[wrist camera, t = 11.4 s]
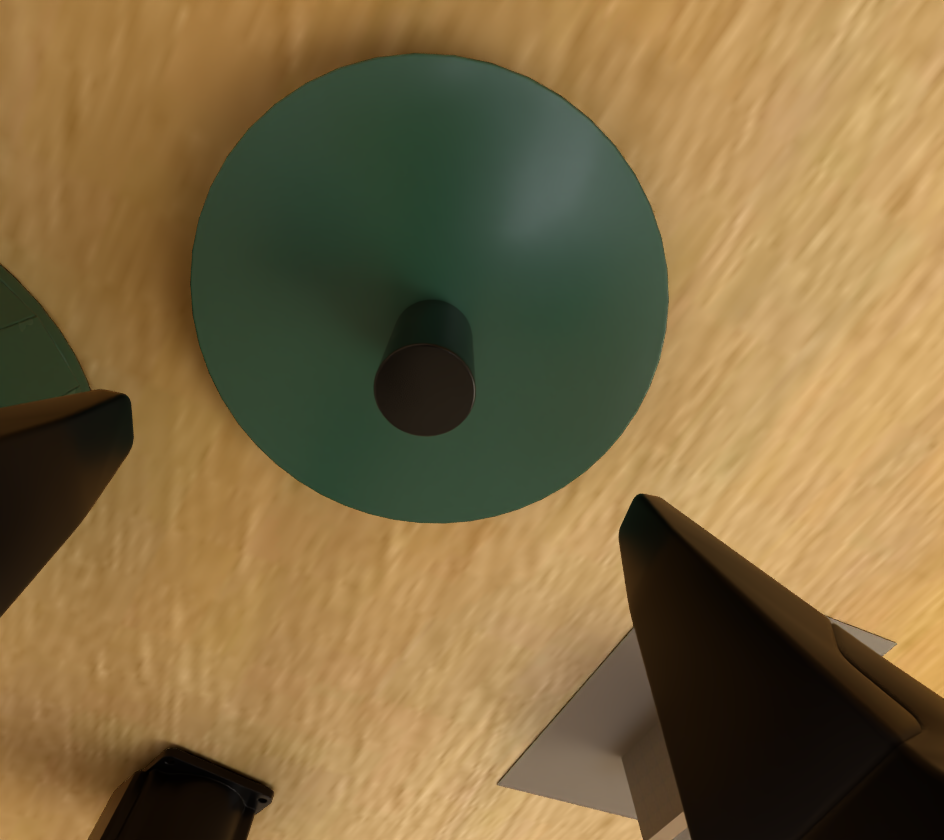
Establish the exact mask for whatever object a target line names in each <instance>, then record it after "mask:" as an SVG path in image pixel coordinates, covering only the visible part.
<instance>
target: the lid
mask: <svg viewBox="0 0 944 840" xmlns="http://www.w3.org/2000/svg"><path fill="white" fill-rule="evenodd" d="M190 286H191V298H192V311H193V318H194V323H195V328H196V332H197V337H198V341H199V346H200V349H201V351H202V354H203V357H204V360H205V363H206V365H207V368H208V371H209V374H210V376H211V378H212V380H213V382H214V384H215V386H216V388H217V390H218V392H219V394H220V396H221V398H222V400H223V401H224V403H225V404H226V406H227V407H228V409H229V410H230V412H231V413H232V415H233V416H234V418H235V419H236V421H237V422H238V424H239V425H240V426H241V427H242V429H243V430H244V431H245V432H246V433H247V435H248V436H249V437H250V438H251V439H252V441H253V442H254V443H255V444H256V445H257V446H258V447H259V448H260V449H261V450H262V451H263V452H264V453H265V454H266V455H267V456H268V457H269V458H270V459H271V460H273V461H274V462H275V463H276V464H277V465H278V466H279V467H281V468H282V469H283V470H285V471H286V472H287V473H289V474H290V475H291V476H293V477H294V478H295V479H297V480H298V481H299V482H301V483H303V484H304V485H306V486H308V487H309V488H311V489H313V490H314V491H316V492H318V493H319V494H321V495H323V496H325V497H328V498H330V499H332V500H334V501H336V502H338V503H340V504H343V505H345V506H348V507H351V508H354V509H356V510H359V511H362V512H365V513H368V514H372V515H376V516H380V517H385V518H389V519H393V520H401V521H409V522H417V523H455V522H467V521H474V520H479V519H484V518H489V517H495V516H498V515H501V514H505V513H508V512H511V511H514V510H518V509H520V508H523V507H525V506H527V505H530V504H532V503H534V502H537V501H539V500H541V499H543V498H545V497H547V496H549V495H550V494H552V493H554V492H556V491H558V490H559V489H561V488H563V487H565V486H566V485H567V484H569V483H570V482H572V481H573V480H574V479H576V478H577V477H578V476H580V475H581V474H583V473H584V472H585V471H586V470H588V469H589V468H590V467H591V466H592V465H593V464H594V463H595V462H596V461H597V460H599V459H600V458H601V457H602V456H603V455H604V454H605V453H606V452H607V451H608V449H609V448H610V447H611V446H612V445H613V444H614V443H615V441H616V440H617V439H618V438H619V437H620V436H621V434H622V433H623V432H624V430H625V429H626V427H627V426H628V424H629V423H630V421H631V420H632V418H633V417H634V415H635V414H636V413H637V411H638V409H639V407H640V405H641V403H642V401H643V399H644V397H645V395H646V393H647V391H648V389H649V387H650V385H651V382H652V379H653V377H654V374H655V371H656V368H657V366H658V363H659V360H660V356H661V351H662V347H663V342H664V338H665V333H666V326H667V315H668V303H669V295H668V273H667V265H666V259H665V254H664V248H663V243H662V238H661V234H660V231H659V228H658V225H657V222H656V219H655V216H654V213H653V210H652V207H651V205H650V203H649V201H648V199H647V197H646V195H645V193H644V191H643V189H642V187H641V185H640V183H639V181H638V179H637V177H636V175H635V173H634V172H633V170H632V169H631V168H630V166H629V165H628V163H627V162H626V160H625V159H624V157H623V156H622V155H621V153H620V152H619V150H618V149H617V147H616V146H615V145H614V144H613V143H612V142H611V140H610V139H609V138H608V137H607V136H606V135H605V134H604V133H603V132H602V131H601V130H600V129H599V128H598V127H597V126H596V124H595V123H594V122H593V121H592V120H591V119H590V118H589V117H587V116H586V115H585V114H583V113H582V112H581V111H580V110H578V109H577V108H576V107H575V106H573V105H572V104H571V103H570V102H568V101H567V100H566V99H565V98H563V97H562V96H561V95H559V94H557V93H555V92H554V91H552V90H550V89H548V88H547V87H545V86H543V85H541V84H540V83H538V82H536V81H534V80H533V79H531V78H529V77H527V76H524V75H522V74H519V73H517V72H514V71H511V70H509V69H506V68H504V67H501V66H498V65H496V64H493V63H489V62H485V61H480V60H475V59H471V58H466V57H461V56H456V55H444V54H425V53H411V54H401V55H392V56H383V57H376V58H372V59H368V60H365V61H361V62H357V63H354V64H350V65H347V66H343V67H340V68H337V69H335V70H333V71H331V72H329V73H327V74H324V75H322V76H320V77H318V78H316V79H314V80H311V81H309V82H307V83H305V84H304V85H302V86H301V87H299V88H298V89H296V90H295V91H293V92H292V93H290V94H289V95H287V96H286V97H284V98H283V99H281V100H280V101H278V102H277V103H276V104H274V105H273V106H272V107H271V108H270V109H269V110H268V111H267V112H266V113H265V114H264V115H263V116H262V117H261V118H259V119H258V120H257V121H256V122H255V123H254V124H253V125H252V126H251V127H250V128H249V129H248V130H247V131H246V133H245V134H244V135H243V137H242V138H241V139H240V141H239V142H238V143H237V144H236V146H235V147H234V148H233V150H232V151H231V152H230V153H229V155H228V156H227V158H226V160H225V161H224V163H223V165H222V167H221V169H220V170H219V172H218V174H217V176H216V178H215V180H214V181H213V183H212V185H211V187H210V190H209V192H208V195H207V198H206V201H205V203H204V206H203V209H202V212H201V214H200V217H199V221H198V225H197V230H196V235H195V240H194V245H193V250H192V264H191V281H190Z"/></svg>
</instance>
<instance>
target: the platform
mask: <svg viewBox="0 0 944 840" xmlns="http://www.w3.org/2000/svg"><path fill="white" fill-rule="evenodd" d="M827 618H828V619H830V621H831V623H835V624H837V625H838V626H840V627H841V628H842V629H844V630H845V631H847V632H848V633H849V634H851V635H852V636H854V637H855V638H856V639H858V640H859V641H861V642H862V643H863V644H865V645H866V646H868V647H869V648H871V649H872V650H873V651H875V652H876V653H878V654H879V655H880V656H883V655H884V654H886V653H887V652H888V651H889V650H891V649H892V648H893V647H894V646H895V645H897V643H894V642H891V641H889V640H886V639H883V638H881V637H878V636H876V635H873V634H870V633H868V632H865V631H863V630H860V629H857V628H855V627H852V626H850V625H847V624H844V623H842V622H839V621H837V620H834V619H831V618H829V617H827ZM497 785H499V786H503V787H507V788H511V789H515V790H519V791H523V792H527V793H531V794H535V795H539V796H543V797H547V798H552V799H556V800H560V801H564V802H568V803H572V804H576V805H580V806H584V807H588V808H592V809H596V810H600V811H604V812H608V813H612V814H616V815H620V816H624V817H628V818H632V819H637V820H638V822H639V826H640V830H641V834H642V837H643V840H691V838H690V834H689V830H688V827H687V823H686V819H685V815H684V812H683V808H682V804H681V801H680V797H679V793H678V789H677V786H676V782H675V778H674V775H673V771H672V767H671V763H670V760H669V756H668V752H667V748H666V745H665V741H664V737H663V734H662V730H661V726H660V722H659V719H658V715H657V711H656V708H655V704H654V700H653V696H652V693H651V689H650V685H649V681H648V678H647V674H646V670H645V667H644V663H643V659H642V655H641V652H640V648H639V644H638V640H637V637H636V633H635V629H634V628H633V629H632V630H631V631H630V633H629V634H628V635H627V636H626V637H625V638H624V639H623V641H622V642H621V643H620V644H619V645H618V646H617V647H616V649H615V650H614V651H613V652H612V653H611V654H610V655H609V657H608V658H607V659H606V660H605V661H604V662H603V664H602V665H601V666H600V667H599V668H598V669H597V670H596V672H595V673H594V674H593V675H592V676H591V677H590V678H589V680H588V681H587V682H586V683H585V684H584V685H583V686H582V688H581V689H580V690H579V691H578V692H577V693H576V695H575V696H574V697H573V698H572V699H571V700H570V701H569V703H568V704H567V705H566V706H565V707H564V708H563V709H562V711H561V712H560V713H559V714H558V715H557V716H556V718H555V719H554V720H553V721H552V722H551V723H550V724H549V726H548V727H547V728H546V729H545V730H544V731H543V732H542V734H541V735H540V736H539V737H538V738H537V739H536V740H535V742H534V743H533V744H532V745H531V746H530V747H529V749H528V750H527V751H526V752H525V753H524V754H523V755H522V757H521V758H520V759H519V760H518V761H517V762H516V763H515V765H514V766H513V767H512V768H511V769H510V770H509V771H508V773H507V774H506V775H505V776H504V777H503V778H502V780H501V781H500V782H499V783H498V784H497Z"/></svg>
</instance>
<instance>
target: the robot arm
mask: <svg viewBox="0 0 944 840" xmlns="http://www.w3.org/2000/svg"><path fill="white" fill-rule="evenodd" d="M133 439H134V434H133V421H132V408H131V401H130V399H129V397H128V396H127V395H126V394H123V393H119V392H113V391H108V390H102V389H98V390H92V391H87V392H81V393H76V394H71V395H65V396H60V397H55V398H49V399H44V400H39V401H33V402H28V403H23V404H17V405H12V406H7V407H1V408H0V617H1V616H2V615H3V614H4V613H5V611H6V610H7V609H8V608H9V607H10V606H11V604H12V603H13V602H14V601H15V600H16V599H17V597H18V596H19V595H20V594H21V593H22V592H23V590H24V589H25V588H26V587H27V586H28V585H29V583H30V582H31V581H32V580H33V579H34V578H35V576H36V575H37V574H38V573H39V572H40V571H41V569H42V568H43V567H44V566H45V565H46V564H47V562H48V561H49V560H50V559H51V558H52V557H53V555H54V554H55V553H56V552H57V551H58V550H59V548H60V547H61V546H62V545H63V544H64V543H65V541H66V540H67V539H68V538H69V537H70V536H71V534H72V533H73V532H74V531H75V529H76V528H77V527H78V526H79V524H80V523H81V522H82V521H83V519H84V518H85V517H86V515H87V514H88V512H89V511H90V510H91V508H92V507H93V505H94V504H95V502H96V501H97V499H98V498H99V496H100V495H101V493H102V492H103V490H104V489H105V487H106V486H107V484H108V483H109V482H110V480H111V479H112V477H113V476H114V474H115V473H116V471H117V470H118V468H119V467H120V465H121V464H122V462H123V461H124V459H125V458H126V456H127V455H128V453H129V452H130V450H131V448H132V445H133ZM619 545H620V552H621V558H622V565H623V571H624V578H625V584H626V591H627V598H628V603H629V609H630V613H631V617H632V622H633V626H634V629H635V633H636V637H637V640H638V644H639V648H640V652H641V655H642V659H643V663H644V667H645V670H646V674H647V678H648V681H649V685H650V689H651V693H652V696H653V700H654V704H655V708H656V711H657V715H658V719H659V722H660V726H661V730H662V734H663V737H664V741H665V745H666V748H667V752H668V756H669V760H670V763H671V767H672V771H673V775H674V778H675V782H676V786H677V789H678V793H679V797H680V801H681V804H682V808H683V812H684V815H685V819H686V823H687V827H688V830H689V834H690V838H691V840H944V698H942V697H941V696H939V695H938V694H936V693H935V692H933V691H932V690H930V689H929V688H927V687H926V686H924V685H923V684H921V683H920V682H918V681H917V680H915V679H914V678H913V677H911V676H910V675H908V674H907V673H905V672H904V671H902V670H901V669H899V668H898V667H896V666H895V665H893V664H892V663H890V662H889V661H888V660H886V659H885V658H883V657H882V656H880V655H879V654H878V653H876V652H875V651H873V650H872V649H871V648H869V647H868V646H866V645H865V644H863V643H862V642H861V641H859V640H858V639H856V638H855V637H854V636H852V635H851V634H849V633H848V632H847V631H845V630H844V629H842V628H841V627H840V626H838V625H837V624H835V623H831V621H830V619H828V618H827V617H826V616H824V615H823V614H822V613H820V612H819V611H817V610H816V609H815V608H813V607H812V606H810V605H809V604H808V603H806V602H805V601H803V600H802V599H801V598H799V597H798V596H797V595H795V594H794V593H792V592H791V591H790V590H788V589H787V588H785V587H784V586H783V585H781V584H780V583H778V582H777V581H776V580H774V579H773V578H772V577H770V576H769V575H767V574H766V573H765V572H763V571H762V570H760V569H759V568H758V567H756V566H755V565H754V564H752V563H751V562H749V561H748V560H747V559H745V558H744V557H742V556H741V555H740V554H738V553H737V552H735V551H734V550H733V549H731V548H730V547H729V546H727V545H726V544H724V543H723V542H722V541H720V540H719V539H717V538H716V537H715V536H713V535H712V534H710V533H709V532H708V531H706V530H705V529H704V528H702V527H701V526H699V525H698V524H697V523H695V522H694V521H692V520H691V519H690V518H688V517H687V516H686V515H684V514H683V513H681V512H680V511H679V510H677V509H676V508H674V507H673V506H672V505H670V504H669V503H667V502H666V501H665V500H663V499H662V498H660V497H657V496H652V495H647V494H638V495H636V497H635V498H634V499H633V501H632V503H631V505H630V507H629V509H628V512H627V514H626V516H625V518H624V520H623V522H622V524H621V527H620V530H619ZM273 796H274V791H273V790H271V789H270V788H267V787H265V786H263V785H260V784H258V783H256V782H253V781H251V780H249V779H246V778H244V777H242V776H239V775H237V774H235V773H232V772H230V771H228V770H225V769H223V768H221V767H218V766H216V765H214V764H211V763H209V762H207V761H204V760H202V759H200V758H197V757H195V756H193V755H190V754H188V753H186V752H183V751H181V750H179V749H175V748H169V749H166V750H165V751H164V752H162V753H161V754H160V755H159V756H158V757H157V758H156V759H155V760H153V761H152V762H151V763H150V764H149V765H148V766H147V767H146V768H144V769H143V770H140V771H137V772H135V773H134V774H133V775H132V776H131V777H129V778H128V779H127V780H126V781H125V782H124V783H123V784H122V785H120V786H119V787H118V788H117V789H116V790H115V791H114V792H113V794H112V796H111V798H110V800H109V801H108V803H107V805H106V807H105V809H104V811H103V812H102V814H101V816H100V818H99V820H98V821H97V823H96V825H95V827H94V829H93V831H92V832H91V834H90V836H89V838H88V840H247V837H248V834H249V831H250V828H251V825H252V821H253V818H254V815H256V814H257V813H258V812H260V811H261V810H262V809H264V808H265V807H267V806H268V805H269V804H271V802H272V799H273Z"/></svg>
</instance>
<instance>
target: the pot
mask: <svg viewBox="0 0 944 840" xmlns="http://www.w3.org/2000/svg"><path fill="white" fill-rule="evenodd" d="M87 391H90V388H89V385H88V382H87V379H86V377H85V375H84V373H83V371H82V368H81V366H80V364H79V362H78V360H77V358H76V356H75V354H74V352H73V351H72V349H71V348H70V346H69V344H68V343H67V341H66V340H65V338H64V336H63V335H62V333H61V332H60V330H59V329H58V327H57V326H56V325H55V323H54V322H53V321H52V319H51V318H50V317H49V316H48V314H47V313H46V312H45V310H44V309H43V308H42V306H41V305H40V304H39V303H38V302H37V301H36V300H35V299H34V297H33V296H32V295H31V294H30V293H29V292H28V291H27V290H26V289H25V288H24V287H23V286H22V285H21V284H20V282H19V281H18V280H17V279H16V278H15V277H14V276H12V275H11V274H10V273H9V272H8V271H7V270H6V269H5V268H4V267H2V266H1V265H0V408H1V407H7V406H12V405H17V404H23V403H28V402H33V401H39V400H44V399H49V398H55V397H60V396H65V395H71V394H76V393H81V392H87Z"/></svg>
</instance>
